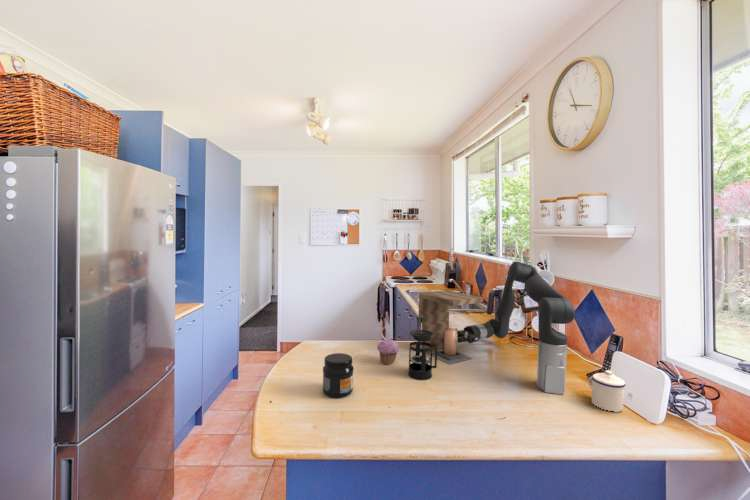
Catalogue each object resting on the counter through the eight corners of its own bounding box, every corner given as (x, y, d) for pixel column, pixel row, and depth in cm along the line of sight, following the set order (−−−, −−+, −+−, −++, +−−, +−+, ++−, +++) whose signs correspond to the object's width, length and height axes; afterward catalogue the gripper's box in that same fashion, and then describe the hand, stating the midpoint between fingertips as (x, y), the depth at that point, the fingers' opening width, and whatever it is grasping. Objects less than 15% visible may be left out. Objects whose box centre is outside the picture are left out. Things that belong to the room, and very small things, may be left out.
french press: (409, 380, 127) (411, 320, 126) (404, 370, 136) (405, 314, 135) (439, 379, 128) (441, 320, 127) (432, 369, 138) (433, 314, 136)
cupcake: (373, 361, 145) (373, 338, 145) (388, 357, 150) (389, 335, 150) (386, 368, 138) (387, 344, 137) (402, 363, 143) (402, 340, 143)
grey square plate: (449, 349, 163) (449, 346, 163) (472, 358, 151) (472, 355, 151) (427, 354, 155) (427, 351, 155) (449, 364, 143) (449, 361, 143)
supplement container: (359, 393, 116) (359, 358, 115) (333, 402, 109) (334, 366, 108) (341, 382, 124) (342, 350, 123) (316, 390, 117) (317, 356, 116)
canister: (456, 358, 150) (457, 332, 149) (443, 357, 151) (444, 331, 150) (455, 354, 155) (456, 328, 155) (443, 353, 156) (444, 327, 156)
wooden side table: (445, 345, 168) (447, 290, 167) (480, 360, 150) (482, 297, 148) (417, 351, 158) (419, 292, 157) (451, 367, 140) (453, 301, 139)
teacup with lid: (631, 412, 107) (633, 376, 107) (606, 414, 106) (608, 377, 105) (599, 394, 119) (601, 362, 118) (577, 396, 117) (579, 363, 117)
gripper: (464, 321, 168) (440, 325, 159) (487, 328, 156) (463, 333, 147) (463, 336, 168) (439, 341, 159) (487, 344, 156) (462, 350, 147)
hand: (451, 337), depth 153 cm, fingers open, 8 cm apart
